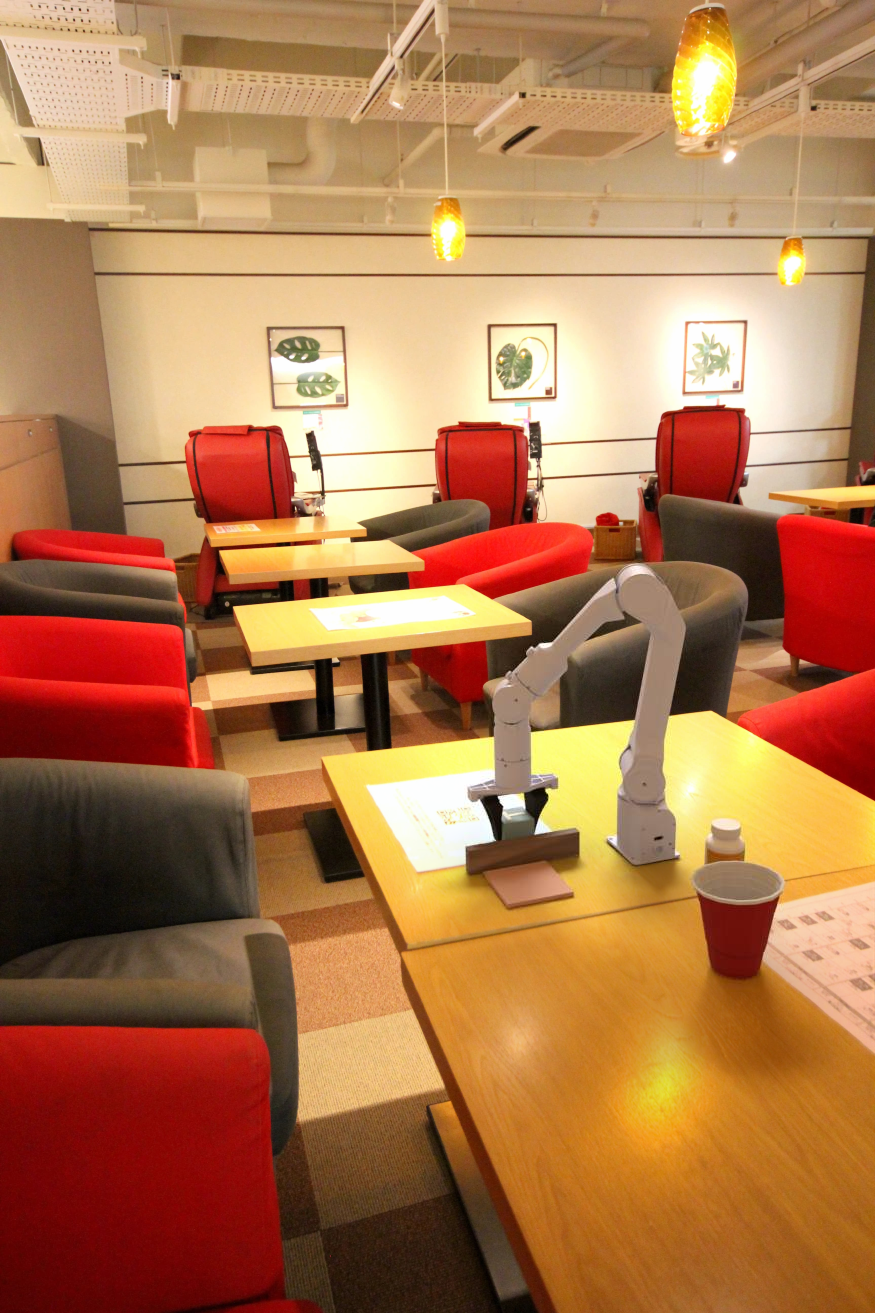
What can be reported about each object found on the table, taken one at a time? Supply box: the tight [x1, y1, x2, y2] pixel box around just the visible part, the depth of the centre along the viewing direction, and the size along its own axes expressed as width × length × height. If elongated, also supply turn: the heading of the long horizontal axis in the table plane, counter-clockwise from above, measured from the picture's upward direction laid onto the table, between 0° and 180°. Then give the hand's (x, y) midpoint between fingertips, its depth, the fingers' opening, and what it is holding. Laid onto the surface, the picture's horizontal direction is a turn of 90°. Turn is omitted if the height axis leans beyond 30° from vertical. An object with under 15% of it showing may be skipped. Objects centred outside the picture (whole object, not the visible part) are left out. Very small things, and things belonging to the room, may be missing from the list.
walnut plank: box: [465, 827, 581, 876], centre depth 138 cm, size 2×18×4 cm, turn 107°
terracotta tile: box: [483, 860, 575, 909], centre depth 132 cm, size 10×10×1 cm
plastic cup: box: [689, 860, 787, 980], centre depth 110 cm, size 11×11×12 cm
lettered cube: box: [493, 806, 536, 841], centre depth 144 cm, size 5×5×5 cm
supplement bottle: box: [703, 817, 746, 865], centre depth 128 cm, size 5×5×10 cm
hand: (513, 835), depth 145 cm, fingers closed on lettered cube, 5 cm apart
